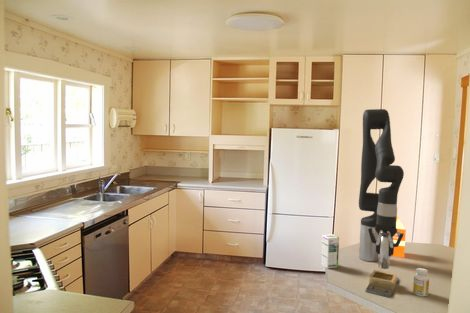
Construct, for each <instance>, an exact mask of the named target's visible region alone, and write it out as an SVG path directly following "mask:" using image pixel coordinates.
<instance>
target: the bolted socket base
mask: <svg viewBox="0 0 470 313" xmlns="http://www.w3.org/2000/svg"><path fill="white" fill-rule="evenodd" d="M368 281H369V282H368V285H367V286H366V288H365V292H366V293H370V294H373V295H378V296H381V297H386V298H391V296H392V294H393V293H394V290H395V288H396V286H397V283H398V281H399V276H397V274H393V273H389V272H386V271H385V272H384V271H382V270H381V271H380V270H376V269H374V270H373V271H372V272H371V274H370V275H369V280H368Z"/></svg>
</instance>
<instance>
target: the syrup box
mask: <svg viewBox="0 0 470 313" xmlns="http://www.w3.org/2000/svg"><path fill="white" fill-rule="evenodd" d="M339 248H340V236H337V235H335V234H333V233H332V234H322V235H321V263H320V264H321V265H322V266H323V267H324V268H325V269H328V270H329V269H337V268H339V256H340V255H339V253H340V252H339V250H340V249H339Z"/></svg>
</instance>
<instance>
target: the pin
mask: <svg viewBox="0 0 470 313" xmlns="http://www.w3.org/2000/svg"><path fill="white" fill-rule="evenodd" d="M379 233H380V231H379ZM380 234H381V235H382V237H381V240H380V250H379V257H378V268H380V269H382V270H383V269H384V270H389V269H390V258H391V256H389V250H390V243H389V240H388V236H390V235H389V233H387V232H381V233H380ZM390 234H391V233H390Z"/></svg>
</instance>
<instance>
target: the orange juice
mask: <svg viewBox="0 0 470 313" xmlns="http://www.w3.org/2000/svg"><path fill="white" fill-rule="evenodd" d="M403 224H404V223H402V221H401V220H400V218H399V217H398V216H397V222H396V229H397V231H398V232H401V233H404V235H403V238H402V240H401V242H400V244H399V246H398V247H394V254H393V255H392V256H391V257H396V258H405V248H406V233H407V232H406V231H407V229H406V228H405V227H404V225H403ZM397 240H398V237H397V234H395V235H394V236H393V241H394V243H396V242H397Z"/></svg>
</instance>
